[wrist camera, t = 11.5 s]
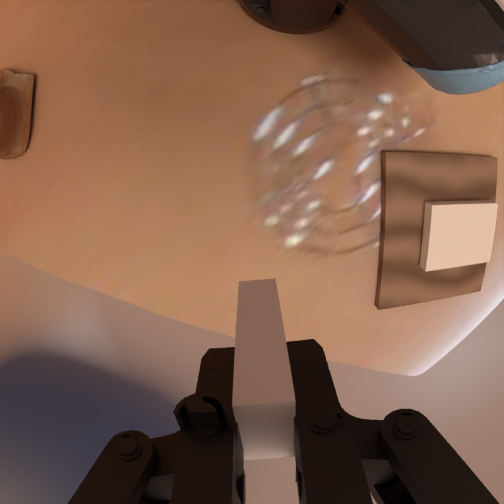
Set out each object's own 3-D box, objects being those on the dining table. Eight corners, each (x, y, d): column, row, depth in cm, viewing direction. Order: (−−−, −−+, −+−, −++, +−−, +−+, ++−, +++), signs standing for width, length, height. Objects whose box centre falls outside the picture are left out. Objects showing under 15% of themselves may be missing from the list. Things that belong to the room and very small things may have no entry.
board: (381, 151, 39) (385, 152, 37) (491, 156, 38) (497, 157, 37) (375, 305, 47) (378, 309, 46) (476, 287, 47) (480, 290, 46)
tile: (432, 205, 37) (497, 203, 37) (423, 201, 40) (489, 199, 39) (425, 271, 41) (489, 261, 41) (418, 265, 43) (481, 256, 43)
